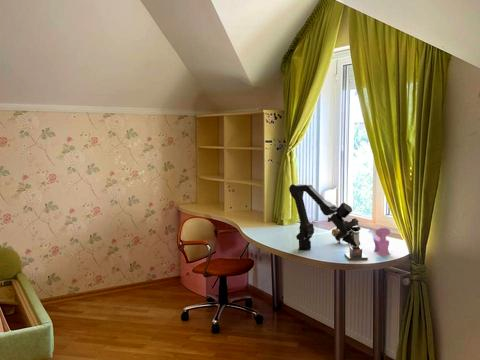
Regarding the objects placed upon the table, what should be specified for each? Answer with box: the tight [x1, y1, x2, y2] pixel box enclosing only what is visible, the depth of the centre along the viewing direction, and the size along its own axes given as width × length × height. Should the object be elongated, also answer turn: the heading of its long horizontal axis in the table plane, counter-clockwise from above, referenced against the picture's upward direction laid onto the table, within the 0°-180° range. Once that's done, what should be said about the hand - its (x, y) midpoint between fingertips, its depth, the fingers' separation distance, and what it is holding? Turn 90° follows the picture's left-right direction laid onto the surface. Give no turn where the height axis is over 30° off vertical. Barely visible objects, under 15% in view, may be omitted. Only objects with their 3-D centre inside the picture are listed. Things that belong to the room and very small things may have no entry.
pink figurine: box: [373, 227, 391, 256], centre depth 260 cm, size 8×9×15 cm
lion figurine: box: [331, 228, 343, 244], centre depth 285 cm, size 15×5×9 cm, turn 69°
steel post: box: [351, 231, 360, 249], centre depth 251 cm, size 4×4×12 cm
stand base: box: [343, 246, 369, 262], centre depth 252 cm, size 10×10×6 cm
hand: (357, 245), depth 250 cm, fingers closed on steel post, 4 cm apart
